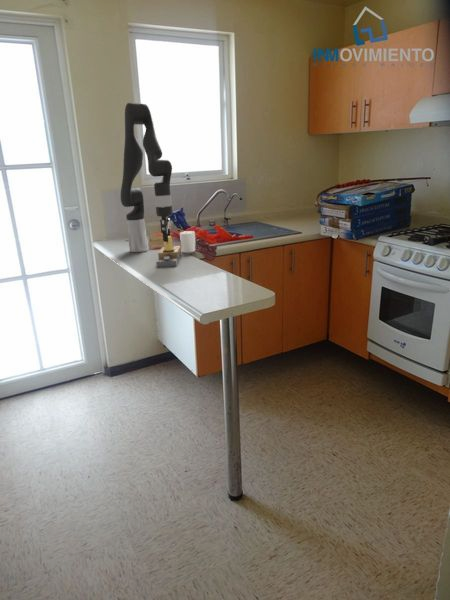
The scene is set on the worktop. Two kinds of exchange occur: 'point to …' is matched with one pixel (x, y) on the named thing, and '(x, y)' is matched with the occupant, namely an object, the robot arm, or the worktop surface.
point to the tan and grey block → (169, 257)
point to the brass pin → (168, 245)
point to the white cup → (187, 241)
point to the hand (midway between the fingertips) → (167, 239)
